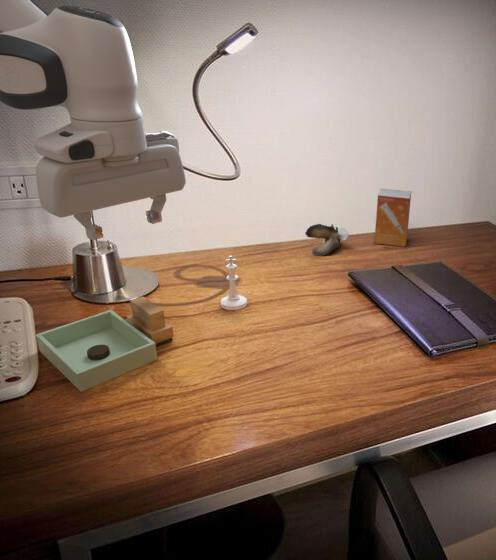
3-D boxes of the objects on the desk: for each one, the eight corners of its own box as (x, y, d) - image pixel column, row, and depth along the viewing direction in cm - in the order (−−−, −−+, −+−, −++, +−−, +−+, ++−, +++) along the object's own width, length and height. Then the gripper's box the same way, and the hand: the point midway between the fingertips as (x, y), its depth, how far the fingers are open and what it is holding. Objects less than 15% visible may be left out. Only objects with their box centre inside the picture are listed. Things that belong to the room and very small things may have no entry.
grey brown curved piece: (323, 234, 133) (298, 237, 126) (338, 215, 130) (314, 217, 122) (340, 257, 131) (316, 261, 124) (356, 238, 128) (332, 242, 120)
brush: (129, 333, 89) (123, 300, 86) (150, 326, 91) (144, 293, 88) (153, 353, 84) (148, 318, 82) (175, 344, 87) (170, 310, 84)
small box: (374, 244, 133) (377, 194, 127) (377, 235, 139) (379, 187, 133) (405, 247, 133) (410, 198, 127) (407, 238, 139) (411, 190, 133)
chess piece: (248, 308, 99) (246, 260, 95) (221, 311, 98) (217, 262, 93) (246, 296, 103) (243, 250, 99) (219, 299, 102) (215, 252, 97)
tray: (40, 355, 81) (35, 334, 80) (114, 328, 90) (111, 309, 88) (82, 396, 74) (76, 374, 72) (158, 363, 82) (155, 342, 80)
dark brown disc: (84, 355, 81) (83, 349, 81) (104, 347, 83) (103, 342, 83) (93, 363, 80) (92, 357, 79) (113, 355, 82) (112, 349, 81)
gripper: (163, 126, 83) (173, 209, 89) (19, 143, 67) (44, 242, 73) (189, 132, 80) (198, 218, 86) (45, 152, 64) (69, 255, 70)
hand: (126, 229), depth 80 cm, fingers open, 8 cm apart
